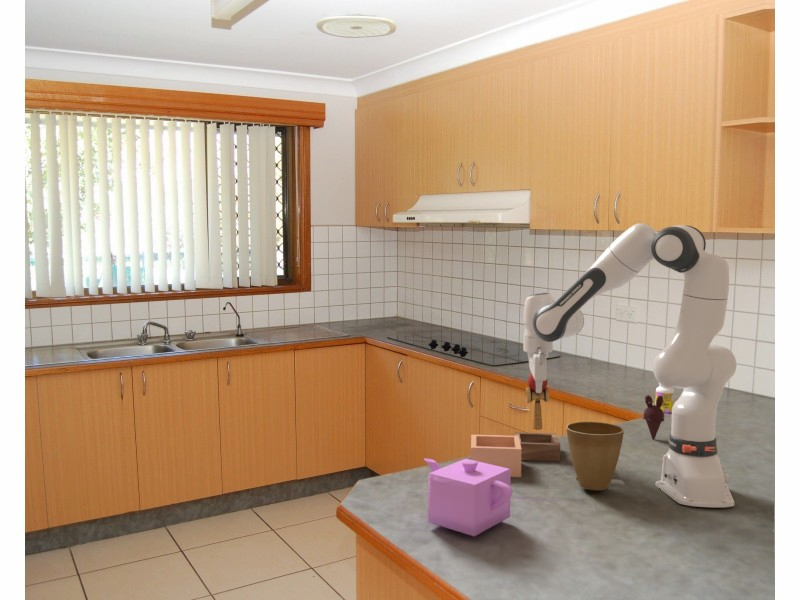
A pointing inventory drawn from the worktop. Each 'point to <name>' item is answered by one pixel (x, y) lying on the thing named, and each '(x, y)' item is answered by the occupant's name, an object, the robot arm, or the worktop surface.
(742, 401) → the worktop surface
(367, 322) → the worktop surface
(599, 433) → the plant pot
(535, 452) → the block
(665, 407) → the supplement bottle
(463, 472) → the teapot
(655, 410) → the icecream
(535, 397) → the kendama
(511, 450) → the stand
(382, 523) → the worktop surface
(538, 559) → the worktop surface
